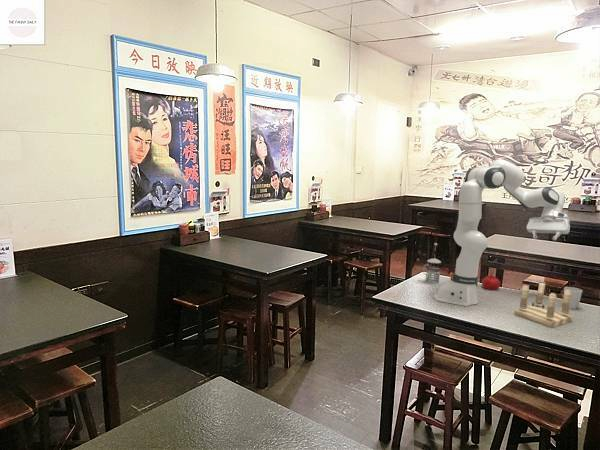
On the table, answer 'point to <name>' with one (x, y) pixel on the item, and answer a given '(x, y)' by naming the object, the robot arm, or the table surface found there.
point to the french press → (433, 272)
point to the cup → (574, 296)
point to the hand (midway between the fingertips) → (544, 239)
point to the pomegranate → (491, 282)
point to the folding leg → (540, 292)
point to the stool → (545, 310)
